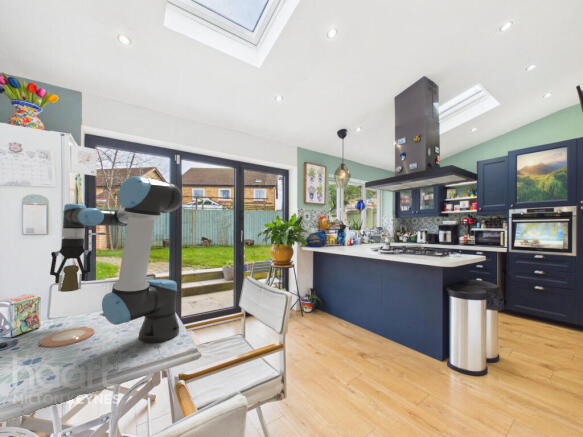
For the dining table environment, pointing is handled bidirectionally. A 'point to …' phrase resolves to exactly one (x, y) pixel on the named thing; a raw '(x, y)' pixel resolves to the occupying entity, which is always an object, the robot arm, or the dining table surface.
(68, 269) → the cork
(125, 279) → the robot arm
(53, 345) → the dish
